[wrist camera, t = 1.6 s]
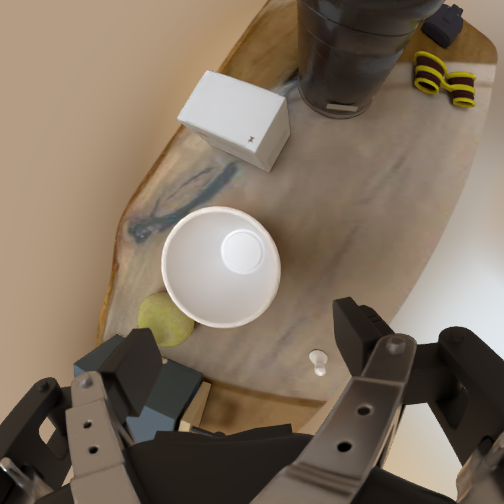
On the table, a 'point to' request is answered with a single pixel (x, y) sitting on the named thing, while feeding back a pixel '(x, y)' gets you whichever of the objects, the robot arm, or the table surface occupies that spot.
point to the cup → (221, 267)
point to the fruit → (164, 320)
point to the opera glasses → (432, 78)
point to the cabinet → (161, 397)
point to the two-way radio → (444, 24)
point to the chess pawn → (318, 361)
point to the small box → (238, 118)
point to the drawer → (195, 414)
